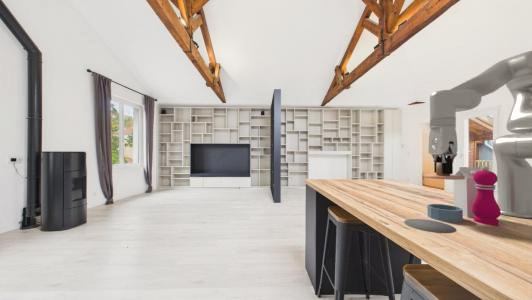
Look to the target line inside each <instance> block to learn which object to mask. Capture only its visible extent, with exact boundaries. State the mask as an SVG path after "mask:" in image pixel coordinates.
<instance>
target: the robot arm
mask: <svg viewBox="0 0 532 300" xmlns="http://www.w3.org/2000/svg"><path fill="white" fill-rule="evenodd" d="M504 86H506V88H507V89H508V91H509V92H510V94H511V96H512V99H513V106H512V108H511V111H510V113H509V116H508V118H507V122H506V130H507V131H508V132H510V133H512V134H505V135H501V136H499V137H497V138H496V139H495V140H494V141H493V142H492V149H493V153H494V156H495V161H496V173H497V174H496V175H497V178H498V180H497V182H496V183H497V187H496V188H497V204H498V206H499V208H500V210H501V215H504V216H508V217H514V218H515V217H516V218H522V219H523V218H524V219H532V166H531V164H530V163H529V162H528V161H527V160H526V159H531V160H532V50H529V51H526V52H522V53H519V54H516V55H513V56H510V57H507V58H504V59H502V60H499V61H498V62H496V63H495V64H493V65H492V66H490V67H488V68H486V69H485V70H484V71H483V72H481V73H479V74H478V75H476V76H474V77H472V78H469V79H468V80H466V81H464V82H462V83H460V84H459V85H457V86H454V87H453V88H450V89H443V90H438V91H434V92H432V93H430V95H429V129H430V130H429V136H428V148H427V149H428V152H427V153H428V154H430V155H431V157H432V158H433V163H434V164H433V165H434V167H433V168H434V169H433V170H434V174H436V162H443V163H442V174H450V175H454V172H453V171H454V170H453V169H454V165H453V164H454V160H455V158H456V157H457V156H458V153H457V152H458V136H457V134H458V133H457V130H456V128H457V120H456V119H457V113H461V112H466V111H470V110H473V109H476V108H477V107H478V106H480V104H481V102H482V97H486V96H487V95H490V94H492V93H494V92H496V91H497V90H499V89H500V88H502V87H504Z"/></svg>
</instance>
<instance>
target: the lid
mask: <svg viewBox="0 0 532 300" xmlns="http://www.w3.org/2000/svg"><path fill="white" fill-rule="evenodd" d="M442 163H443V162H436V173H423V174H422V176H423V177H424V178H426V179H436V180H450V181H451V180H463V179H465V176H459V175H455V174H442Z"/></svg>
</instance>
